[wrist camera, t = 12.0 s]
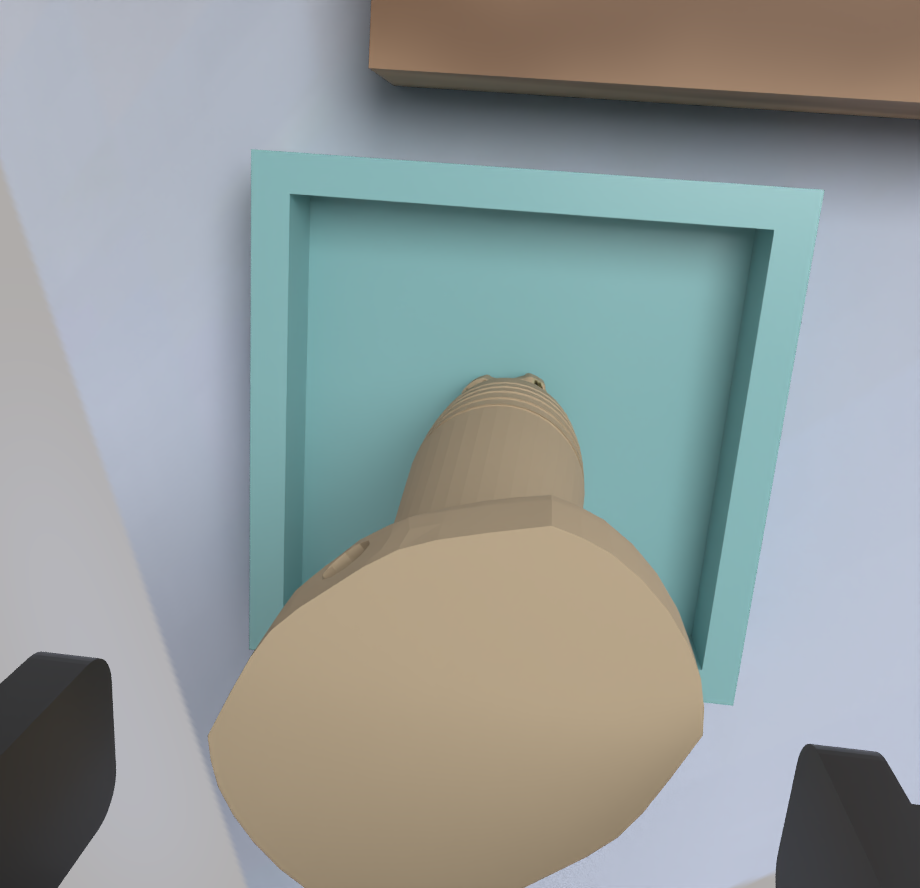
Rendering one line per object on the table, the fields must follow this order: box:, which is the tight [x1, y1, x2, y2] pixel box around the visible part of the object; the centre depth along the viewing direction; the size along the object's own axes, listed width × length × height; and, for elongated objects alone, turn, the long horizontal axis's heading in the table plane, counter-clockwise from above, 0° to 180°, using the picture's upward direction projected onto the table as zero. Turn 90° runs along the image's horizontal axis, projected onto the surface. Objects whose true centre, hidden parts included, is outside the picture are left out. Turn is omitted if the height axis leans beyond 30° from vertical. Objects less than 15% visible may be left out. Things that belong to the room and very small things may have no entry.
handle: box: [208, 373, 704, 888], centre depth 18 cm, size 5×6×15 cm
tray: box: [249, 149, 824, 706], centre depth 25 cm, size 14×14×3 cm
